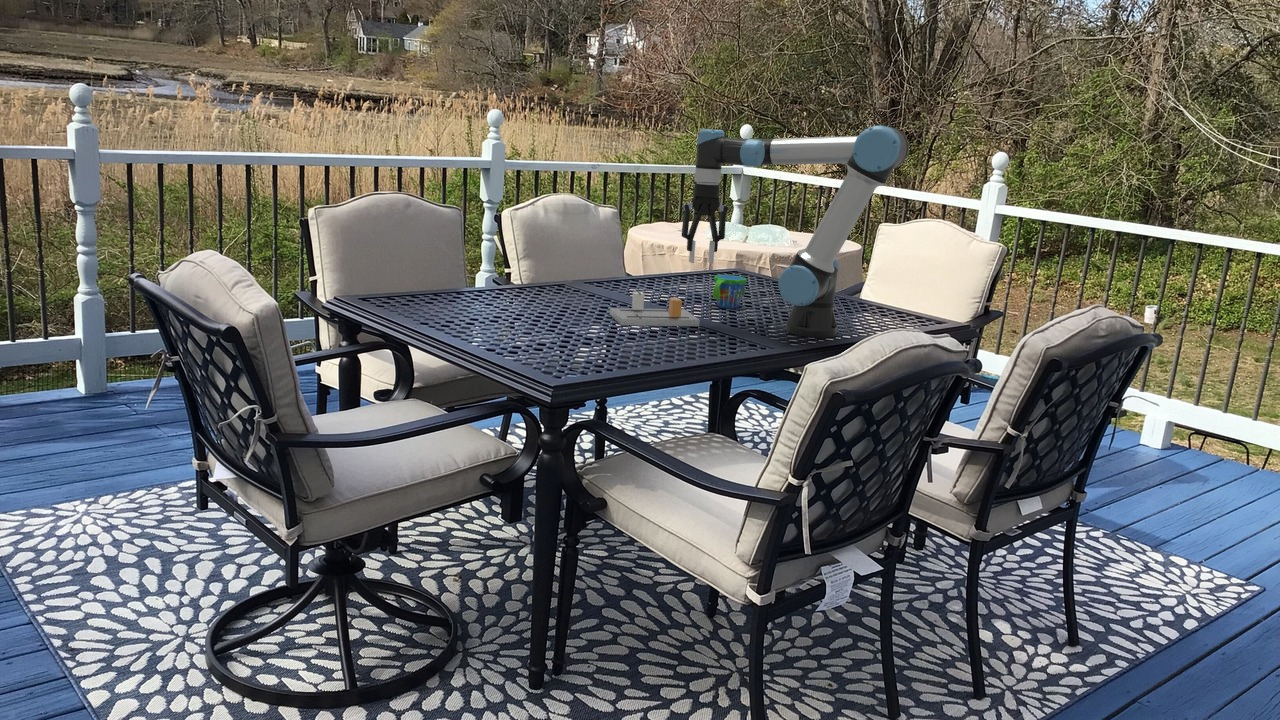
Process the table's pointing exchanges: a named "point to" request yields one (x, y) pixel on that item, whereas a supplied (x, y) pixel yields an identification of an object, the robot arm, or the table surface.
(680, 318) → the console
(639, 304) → the block
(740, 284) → the snack cup
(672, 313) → the block
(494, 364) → the table surface
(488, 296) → the table surface
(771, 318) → the table surface
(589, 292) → the table surface
